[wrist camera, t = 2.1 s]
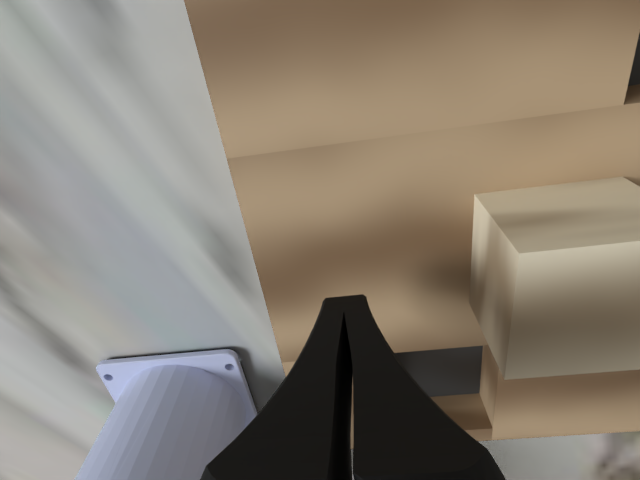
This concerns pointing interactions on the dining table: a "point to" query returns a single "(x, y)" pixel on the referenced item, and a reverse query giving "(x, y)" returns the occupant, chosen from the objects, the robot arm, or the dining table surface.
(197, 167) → the dining table surface
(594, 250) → the block
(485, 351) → the track
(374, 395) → the robot arm
